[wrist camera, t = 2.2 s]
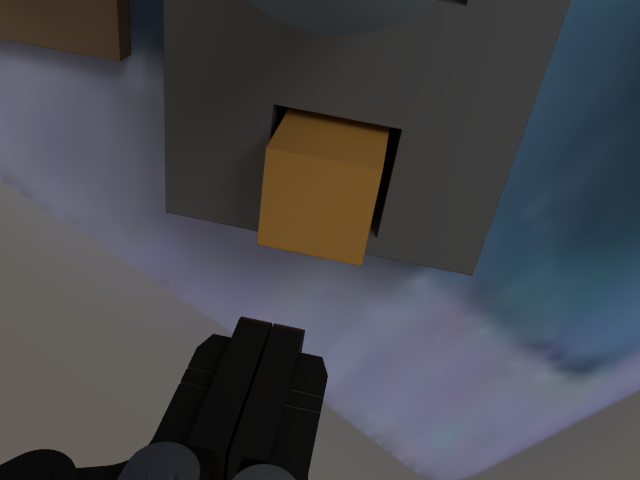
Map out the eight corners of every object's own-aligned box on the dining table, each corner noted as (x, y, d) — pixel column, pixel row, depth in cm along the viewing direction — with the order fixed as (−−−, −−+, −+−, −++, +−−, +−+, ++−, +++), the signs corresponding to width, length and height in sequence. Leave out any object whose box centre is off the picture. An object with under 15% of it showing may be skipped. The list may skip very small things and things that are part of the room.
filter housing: (212, -365, 17) (158, -419, 13) (640, -302, 16) (693, -343, 13) (200, 167, 26) (166, 212, 23) (467, 221, 26) (472, 275, 22)
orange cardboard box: (292, 102, 21) (266, 147, 18) (390, 121, 21) (382, 170, 18) (282, 188, 23) (257, 244, 20) (372, 207, 23) (361, 265, 20)
